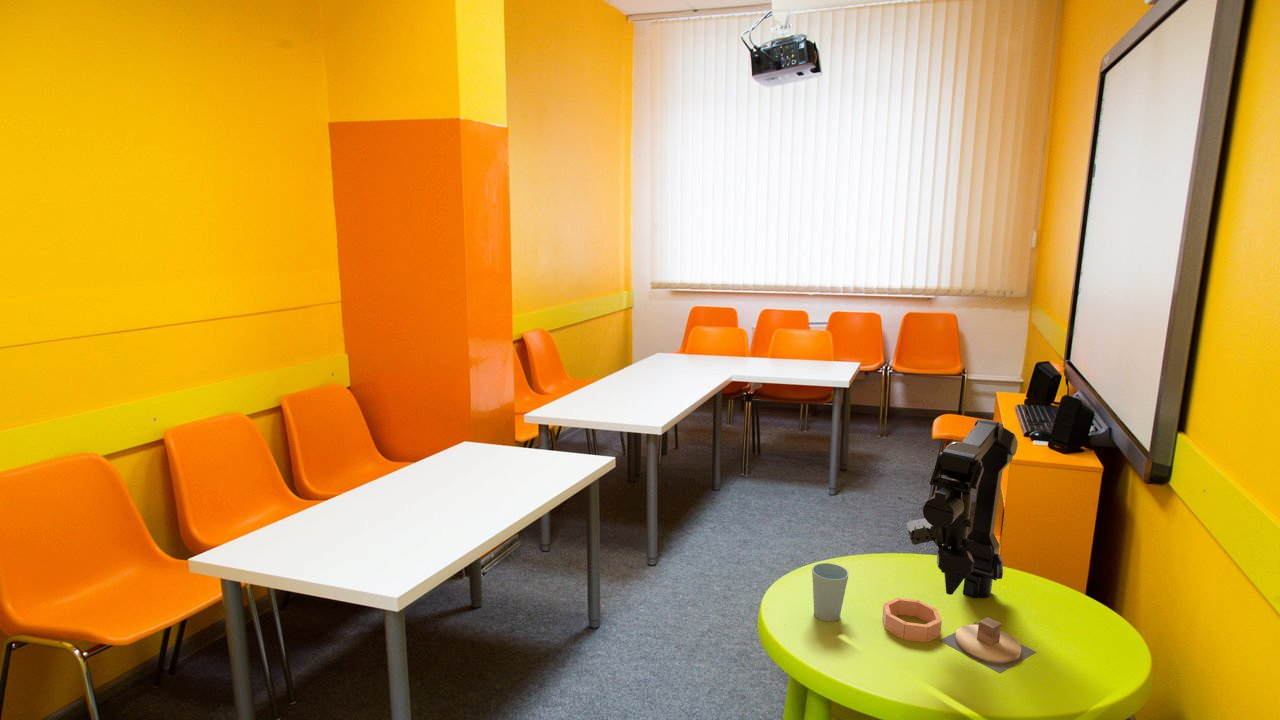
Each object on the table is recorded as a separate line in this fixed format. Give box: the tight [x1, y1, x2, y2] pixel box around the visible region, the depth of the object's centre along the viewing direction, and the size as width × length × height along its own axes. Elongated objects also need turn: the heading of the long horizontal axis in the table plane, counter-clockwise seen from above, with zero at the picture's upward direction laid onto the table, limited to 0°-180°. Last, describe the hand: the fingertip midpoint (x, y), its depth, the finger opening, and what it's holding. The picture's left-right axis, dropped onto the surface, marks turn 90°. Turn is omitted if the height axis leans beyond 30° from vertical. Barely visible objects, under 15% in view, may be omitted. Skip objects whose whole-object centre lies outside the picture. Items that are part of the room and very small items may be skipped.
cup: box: [811, 562, 850, 622], centre depth 162 cm, size 8×8×10 cm
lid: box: [955, 616, 1021, 664], centre depth 150 cm, size 12×12×5 cm
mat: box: [939, 621, 1037, 674], centre depth 150 cm, size 13×13×1 cm
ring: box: [881, 597, 943, 643], centre depth 157 cm, size 11×11×4 cm
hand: (946, 583), depth 151 cm, fingers open, 9 cm apart
